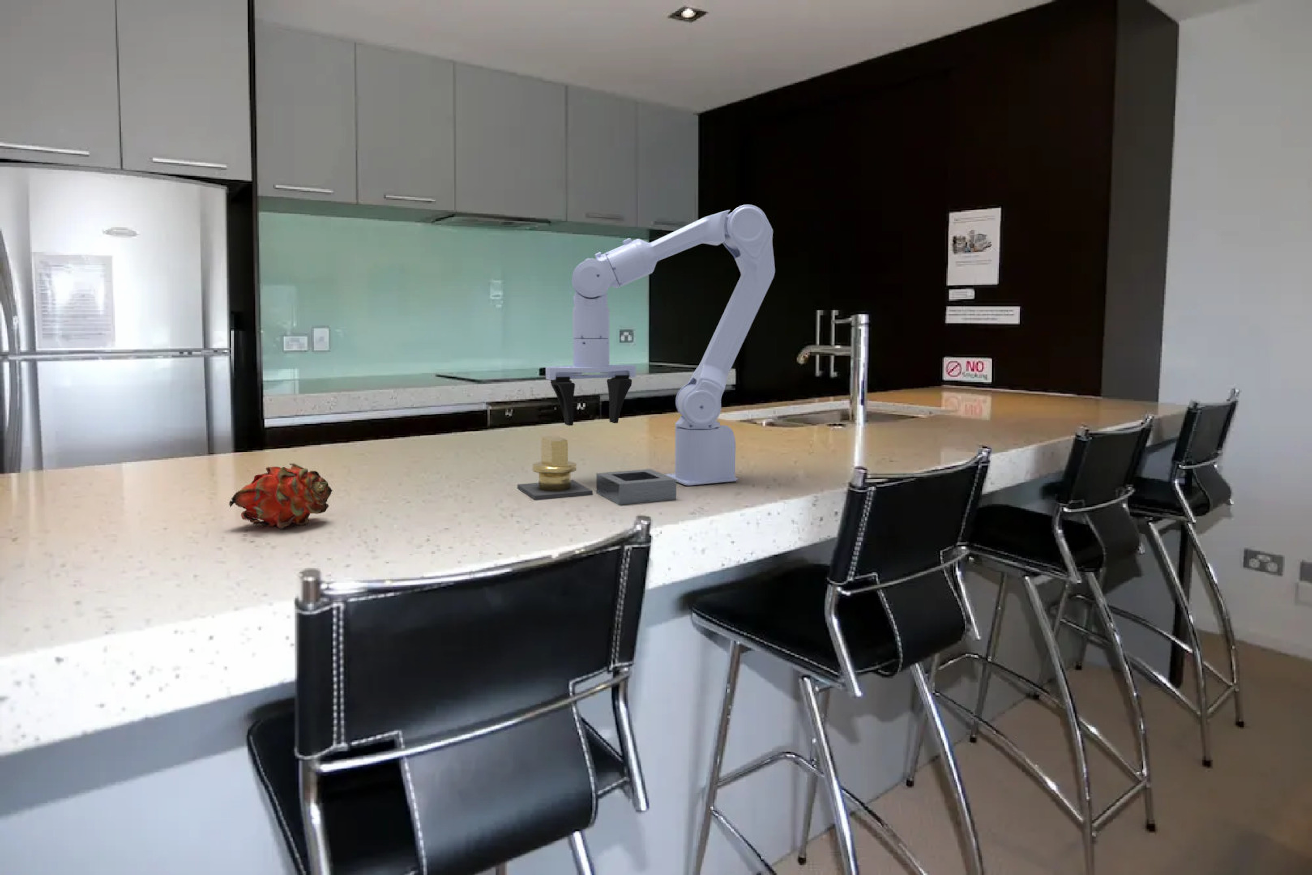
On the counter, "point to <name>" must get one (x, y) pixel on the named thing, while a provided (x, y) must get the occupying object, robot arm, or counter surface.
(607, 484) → the housing
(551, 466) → the end cover
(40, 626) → the counter surface
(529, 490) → the mat
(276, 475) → the dragon fruit
